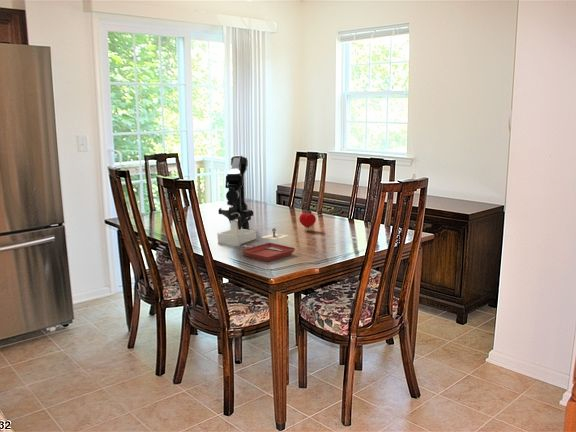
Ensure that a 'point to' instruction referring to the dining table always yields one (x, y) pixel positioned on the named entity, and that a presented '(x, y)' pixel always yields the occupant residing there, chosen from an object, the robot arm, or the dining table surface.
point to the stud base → (274, 235)
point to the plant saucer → (268, 251)
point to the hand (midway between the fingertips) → (236, 228)
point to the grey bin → (236, 237)
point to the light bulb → (307, 220)
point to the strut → (235, 228)
